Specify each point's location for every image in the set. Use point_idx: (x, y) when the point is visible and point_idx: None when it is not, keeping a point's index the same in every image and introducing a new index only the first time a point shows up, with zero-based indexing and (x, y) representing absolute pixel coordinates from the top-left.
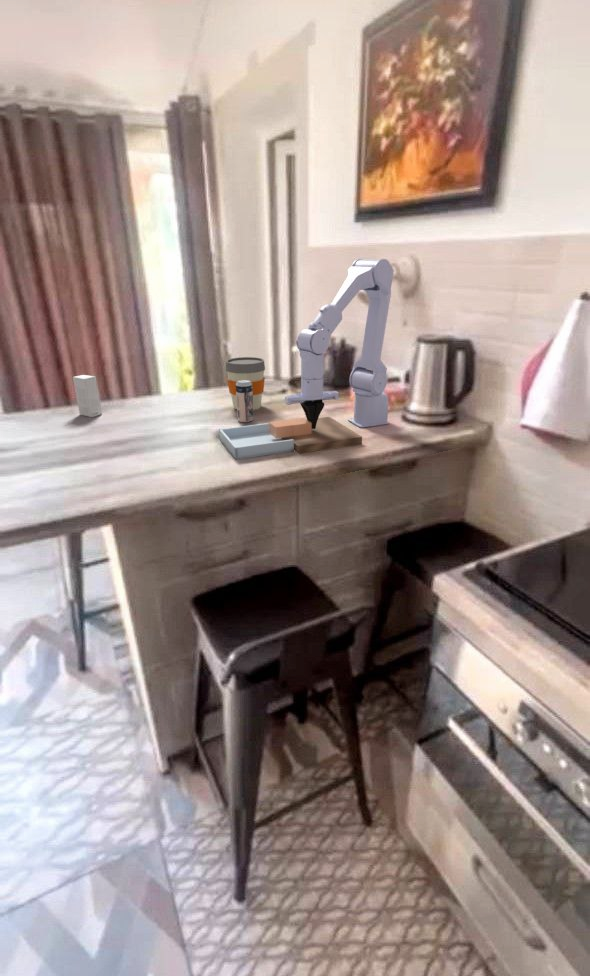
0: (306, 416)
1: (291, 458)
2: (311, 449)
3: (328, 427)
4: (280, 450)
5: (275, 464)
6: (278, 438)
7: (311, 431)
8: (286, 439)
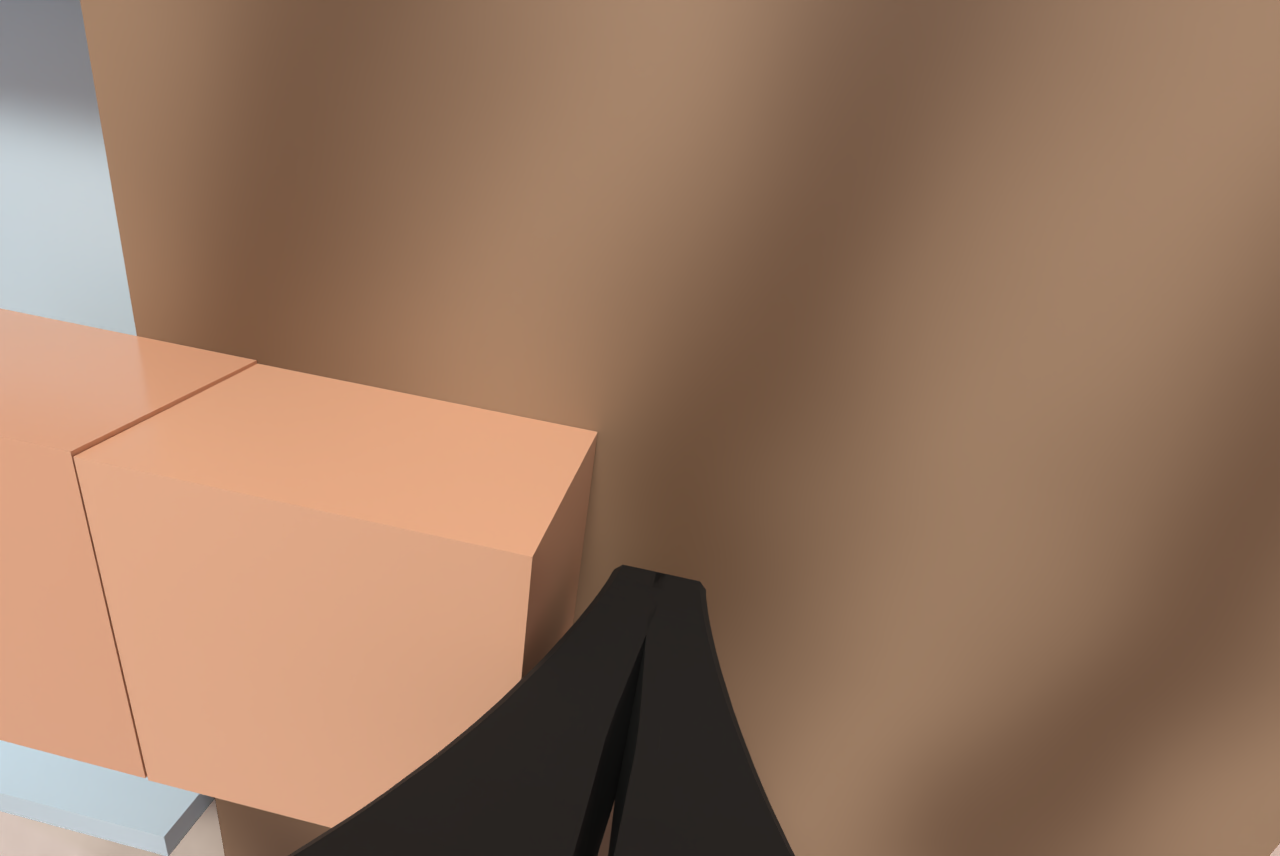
0: (516, 705)
1: (196, 830)
2: None
3: (1028, 641)
4: None
5: (45, 838)
6: None
7: None
8: None
